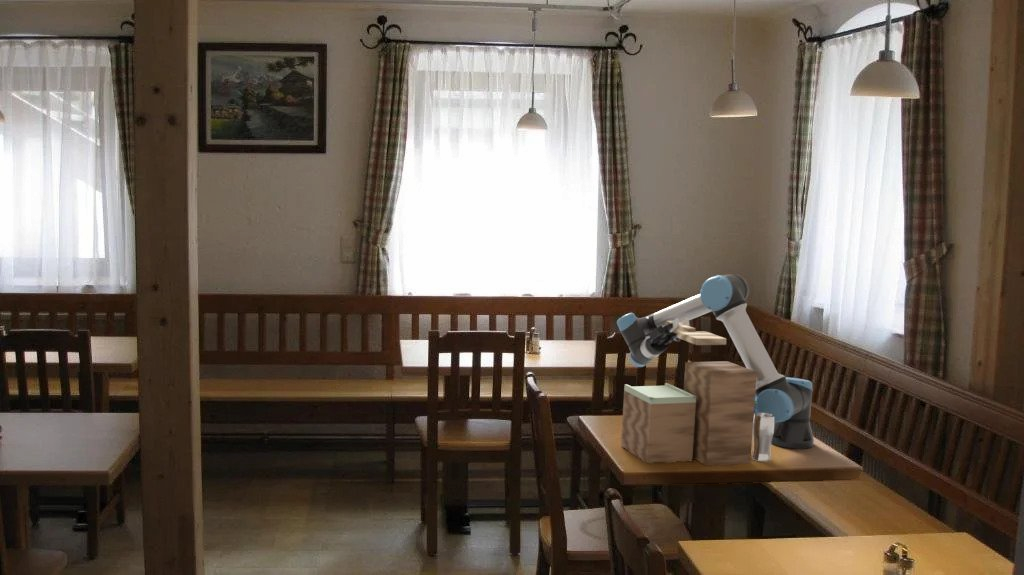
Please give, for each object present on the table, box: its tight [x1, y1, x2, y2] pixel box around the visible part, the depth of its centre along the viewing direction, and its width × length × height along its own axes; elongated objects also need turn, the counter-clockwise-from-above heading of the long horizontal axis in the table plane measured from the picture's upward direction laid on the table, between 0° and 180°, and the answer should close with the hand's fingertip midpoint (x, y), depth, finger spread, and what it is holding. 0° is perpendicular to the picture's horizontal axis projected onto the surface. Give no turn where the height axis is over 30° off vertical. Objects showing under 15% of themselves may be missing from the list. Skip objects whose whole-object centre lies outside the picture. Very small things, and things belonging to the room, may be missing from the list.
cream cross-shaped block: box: [666, 321, 727, 346], centre depth 339 cm, size 30×10×3 cm, turn 18°
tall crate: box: [683, 360, 757, 467], centre depth 333 cm, size 18×16×30 cm
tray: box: [623, 382, 696, 404], centre depth 333 cm, size 20×16×2 cm
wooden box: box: [620, 389, 696, 464], centre depth 334 cm, size 20×16×19 cm
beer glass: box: [751, 412, 775, 463], centre depth 333 cm, size 7×7×15 cm
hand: (683, 321), depth 344 cm, fingers closed on cream cross-shaped block, 3 cm apart
